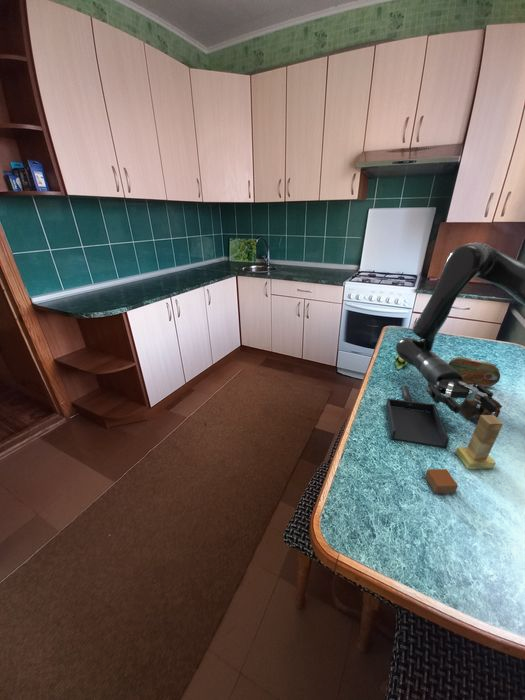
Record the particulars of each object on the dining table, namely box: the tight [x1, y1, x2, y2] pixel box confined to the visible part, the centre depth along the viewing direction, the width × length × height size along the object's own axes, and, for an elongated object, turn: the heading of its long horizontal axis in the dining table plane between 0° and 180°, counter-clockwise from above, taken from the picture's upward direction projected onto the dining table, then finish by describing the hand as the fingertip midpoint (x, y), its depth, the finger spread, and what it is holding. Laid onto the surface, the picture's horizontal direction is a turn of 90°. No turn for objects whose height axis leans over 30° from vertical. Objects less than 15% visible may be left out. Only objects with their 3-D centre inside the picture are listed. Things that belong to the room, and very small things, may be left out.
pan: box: [385, 384, 450, 449], centre depth 86 cm, size 25×13×3 cm, turn 165°
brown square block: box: [424, 468, 459, 494], centre depth 65 cm, size 4×4×2 cm
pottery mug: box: [458, 392, 503, 422], centre depth 84 cm, size 12×10×8 cm
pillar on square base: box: [454, 414, 504, 470], centre depth 68 cm, size 6×5×13 cm
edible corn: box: [394, 354, 408, 370], centre depth 115 cm, size 5×20×5 cm, turn 144°
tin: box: [447, 356, 501, 388], centre depth 100 cm, size 15×3×8 cm, turn 55°
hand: (476, 410), depth 70 cm, fingers open, 8 cm apart
